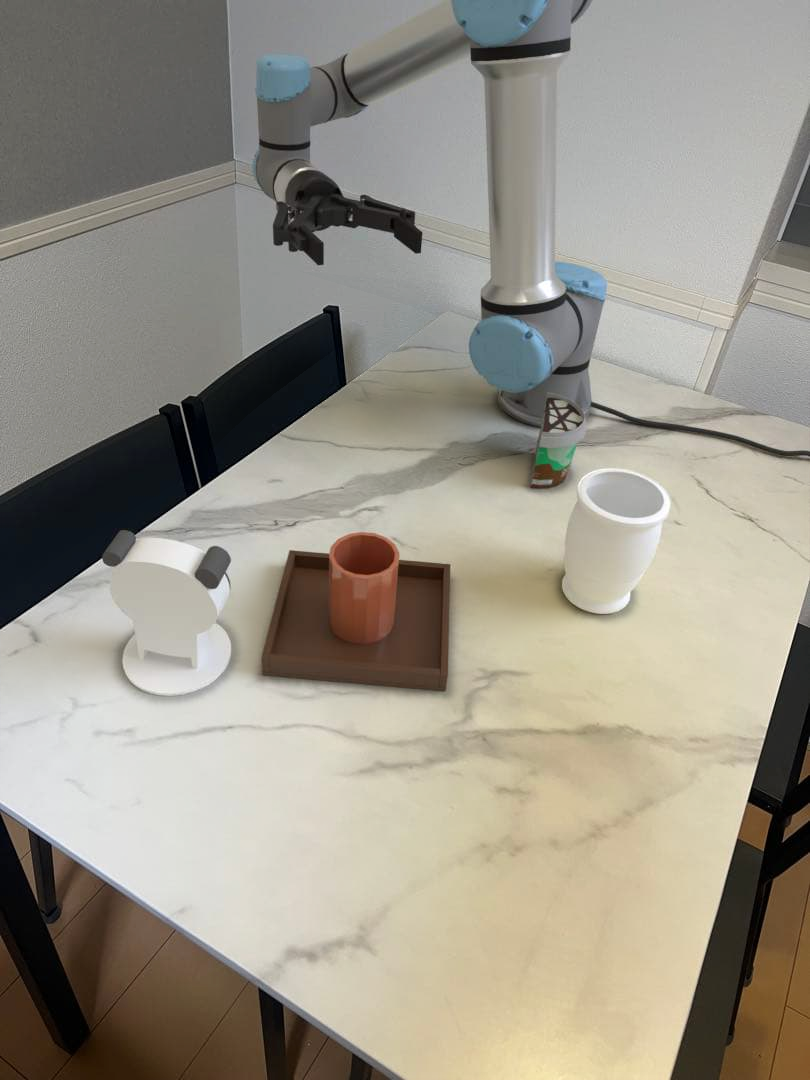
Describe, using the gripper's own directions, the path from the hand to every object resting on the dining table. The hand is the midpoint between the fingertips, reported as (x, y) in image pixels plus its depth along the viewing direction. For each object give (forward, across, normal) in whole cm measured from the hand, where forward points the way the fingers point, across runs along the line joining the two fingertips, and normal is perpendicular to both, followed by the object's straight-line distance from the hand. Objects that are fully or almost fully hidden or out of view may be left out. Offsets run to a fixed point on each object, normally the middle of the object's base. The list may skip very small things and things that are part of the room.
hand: (371, 248), depth 100 cm
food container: (+16, -24, -30) cm, 41 cm away
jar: (+39, -14, -30) cm, 51 cm away
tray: (+33, +15, -30) cm, 47 cm away
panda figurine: (+29, +35, -30) cm, 55 cm away
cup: (+33, +15, -29) cm, 47 cm away
